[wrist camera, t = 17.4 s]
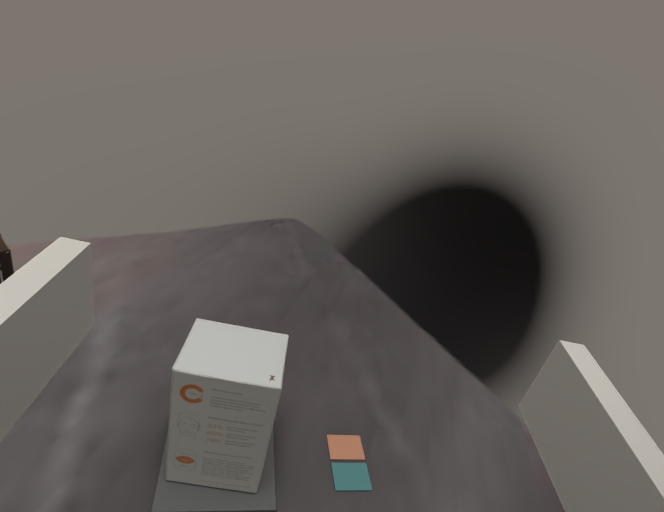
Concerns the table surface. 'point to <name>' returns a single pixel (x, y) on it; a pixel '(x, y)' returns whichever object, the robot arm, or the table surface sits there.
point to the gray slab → (215, 493)
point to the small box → (224, 405)
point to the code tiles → (348, 473)
